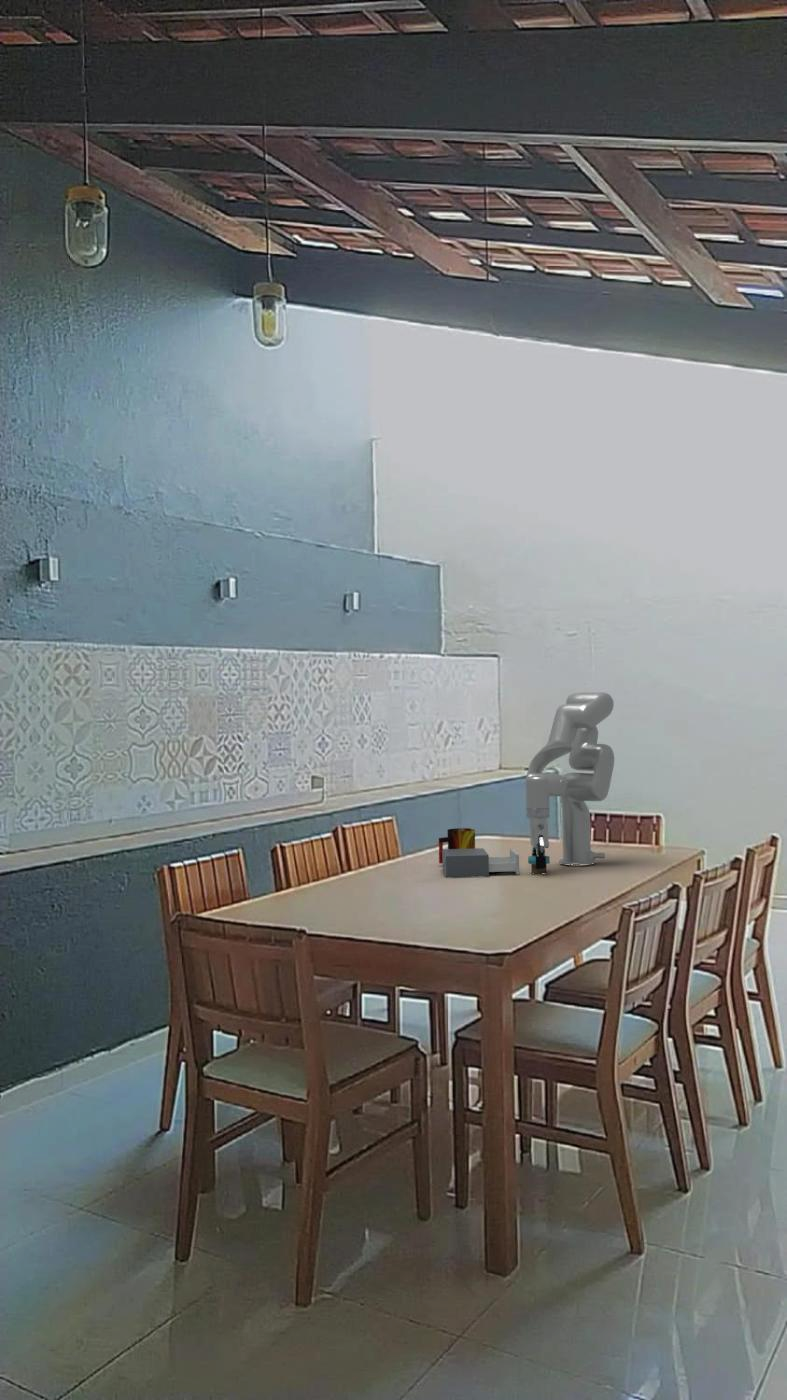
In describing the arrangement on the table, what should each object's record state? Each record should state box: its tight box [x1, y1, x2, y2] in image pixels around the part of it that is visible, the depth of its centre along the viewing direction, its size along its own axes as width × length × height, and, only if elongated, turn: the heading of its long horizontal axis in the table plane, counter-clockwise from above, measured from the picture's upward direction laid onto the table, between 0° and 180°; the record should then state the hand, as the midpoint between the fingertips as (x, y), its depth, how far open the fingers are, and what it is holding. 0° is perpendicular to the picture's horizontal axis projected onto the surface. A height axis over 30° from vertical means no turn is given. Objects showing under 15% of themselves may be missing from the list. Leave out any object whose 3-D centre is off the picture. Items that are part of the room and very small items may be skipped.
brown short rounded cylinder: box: [530, 864, 548, 875], centre depth 383 cm, size 5×5×4 cm
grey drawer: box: [489, 848, 520, 875], centre depth 388 cm, size 13×15×6 cm
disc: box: [527, 855, 551, 865], centre depth 383 cm, size 7×7×2 cm
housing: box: [442, 847, 490, 878], centre depth 388 cm, size 14×17×7 cm
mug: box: [438, 827, 476, 864], centre depth 407 cm, size 10×14×12 cm
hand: (539, 866), depth 383 cm, fingers open, 7 cm apart
